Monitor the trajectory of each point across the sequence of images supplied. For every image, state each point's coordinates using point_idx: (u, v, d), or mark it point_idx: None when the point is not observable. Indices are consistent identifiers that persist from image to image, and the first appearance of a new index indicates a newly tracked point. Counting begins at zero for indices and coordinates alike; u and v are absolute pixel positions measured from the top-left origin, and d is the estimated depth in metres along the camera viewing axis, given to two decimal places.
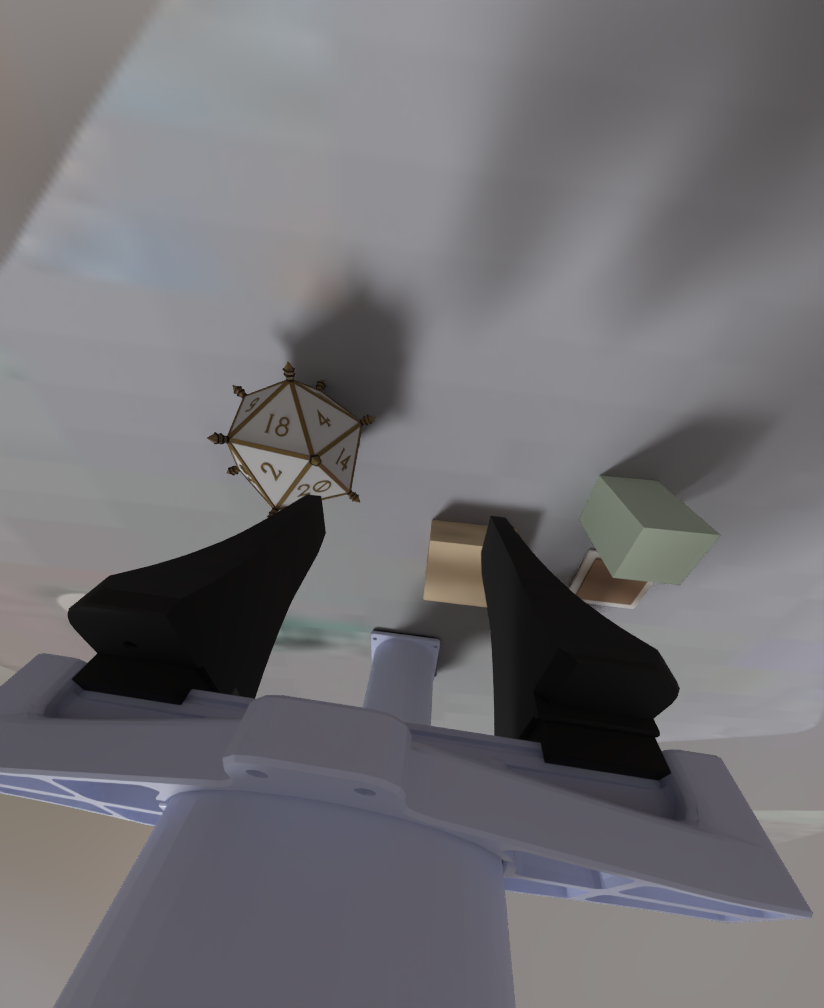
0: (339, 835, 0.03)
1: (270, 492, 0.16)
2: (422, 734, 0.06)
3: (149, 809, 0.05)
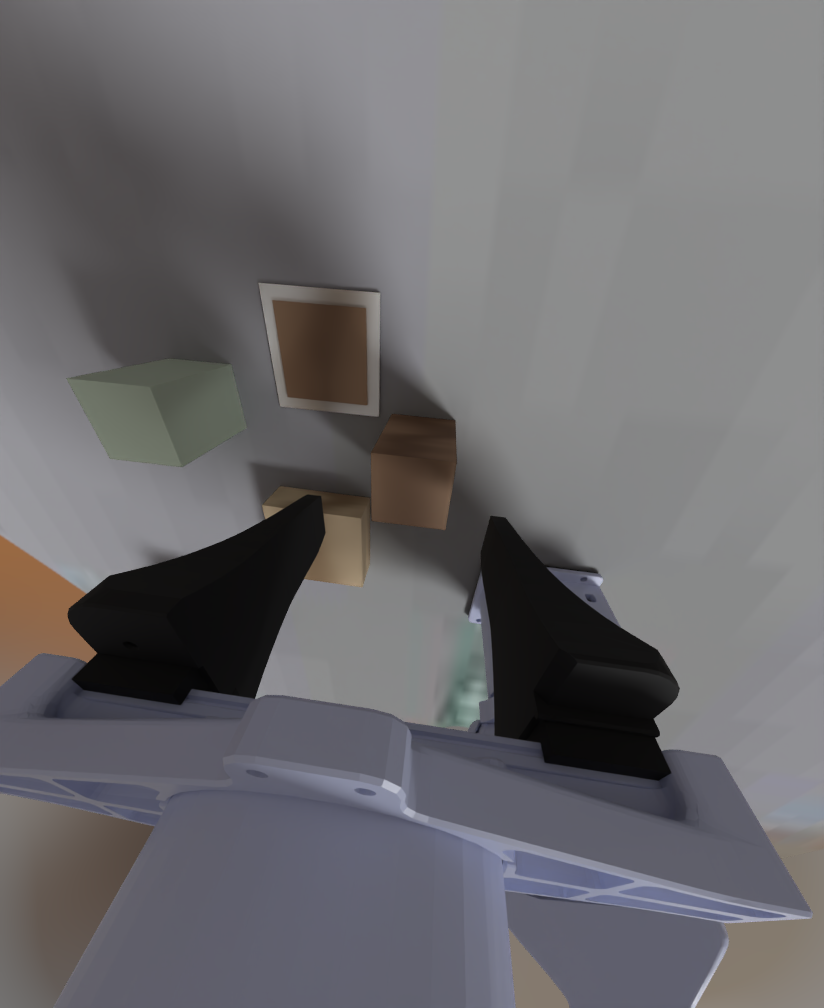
0: (339, 835, 0.03)
1: None
2: (422, 734, 0.06)
3: (149, 809, 0.05)
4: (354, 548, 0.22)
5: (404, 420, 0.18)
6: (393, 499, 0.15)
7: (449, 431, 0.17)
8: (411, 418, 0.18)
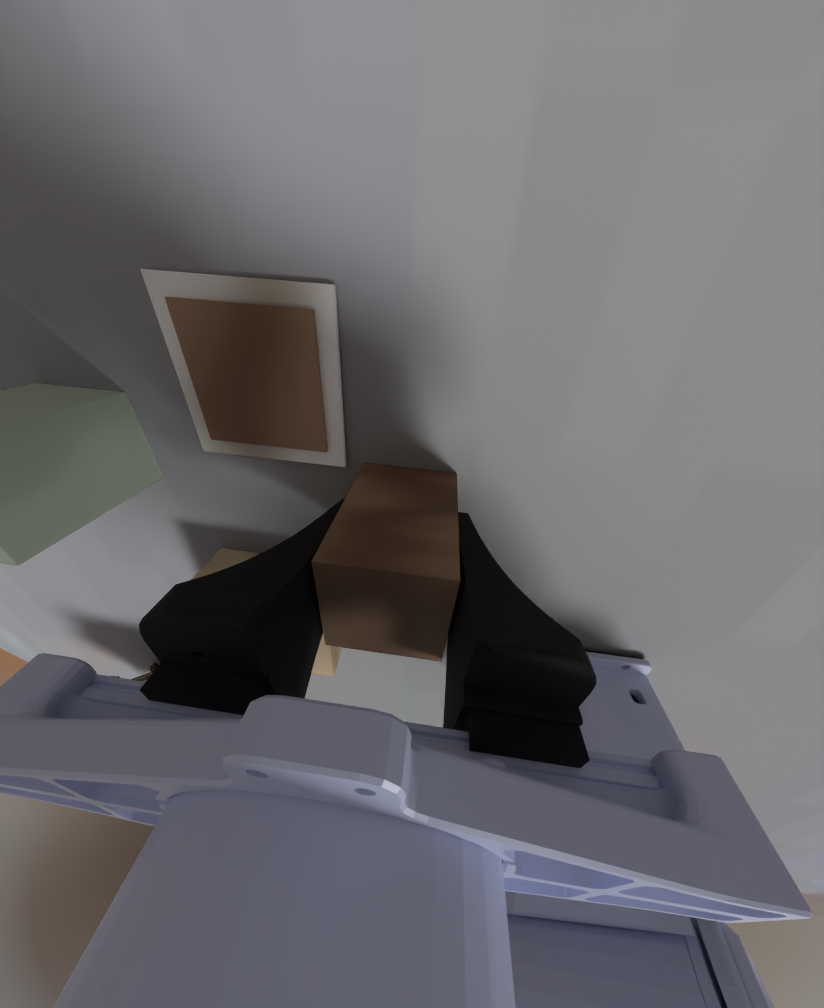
0: (339, 835, 0.03)
1: None
2: (422, 734, 0.06)
3: (149, 809, 0.05)
4: None
5: (380, 476, 0.12)
6: (356, 622, 0.09)
7: (447, 498, 0.11)
8: (391, 472, 0.12)
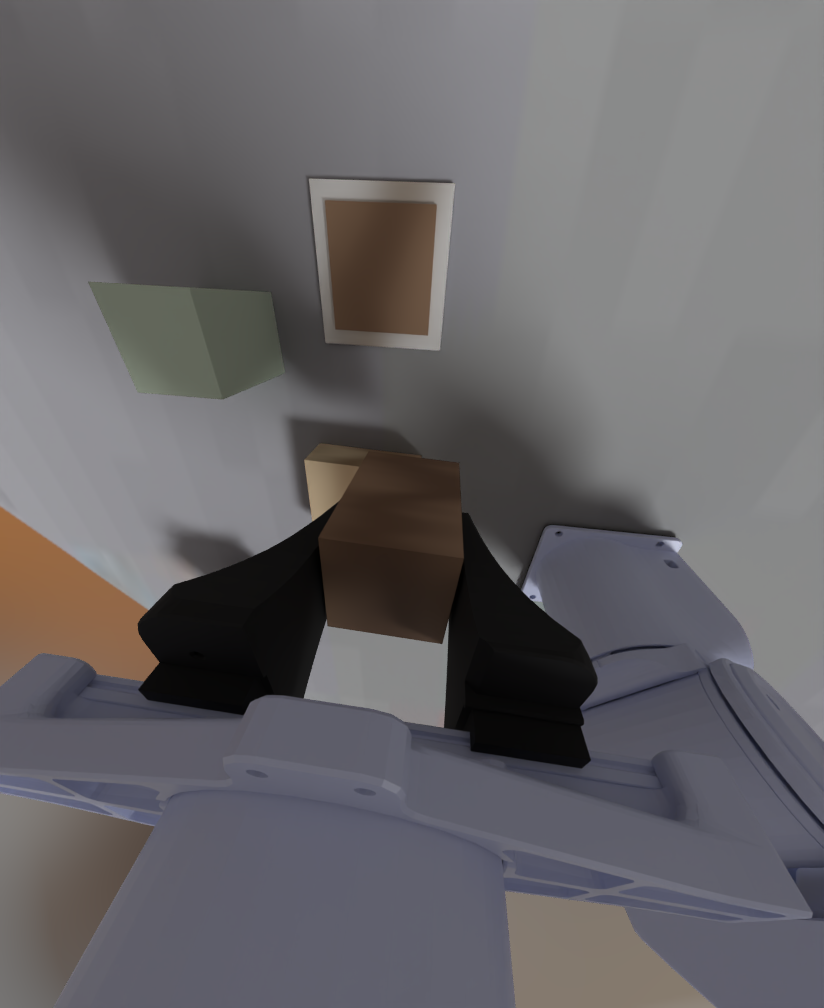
0: (339, 835, 0.03)
1: None
2: (422, 734, 0.06)
3: (149, 809, 0.05)
4: None
5: (384, 463, 0.12)
6: (360, 602, 0.10)
7: (450, 485, 0.11)
8: (395, 460, 0.13)
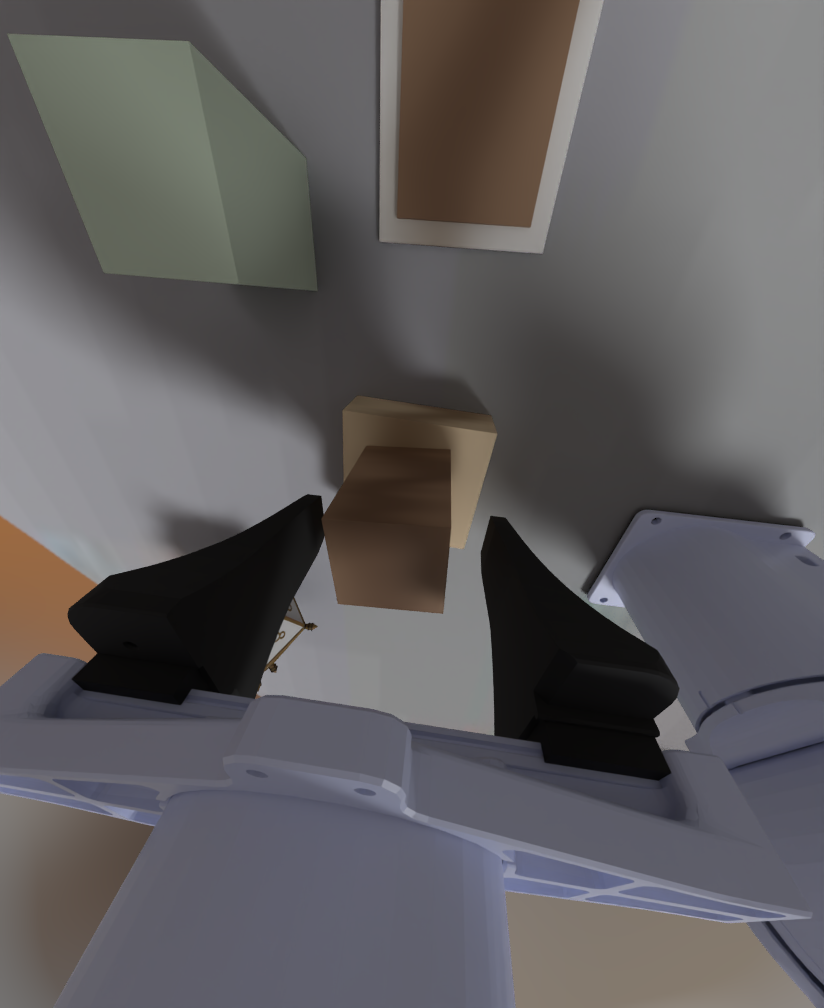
0: (339, 835, 0.03)
1: None
2: (422, 734, 0.06)
3: (149, 809, 0.05)
4: (470, 486, 0.15)
5: (381, 455, 0.13)
6: (364, 578, 0.11)
7: (442, 468, 0.12)
8: (391, 451, 0.14)
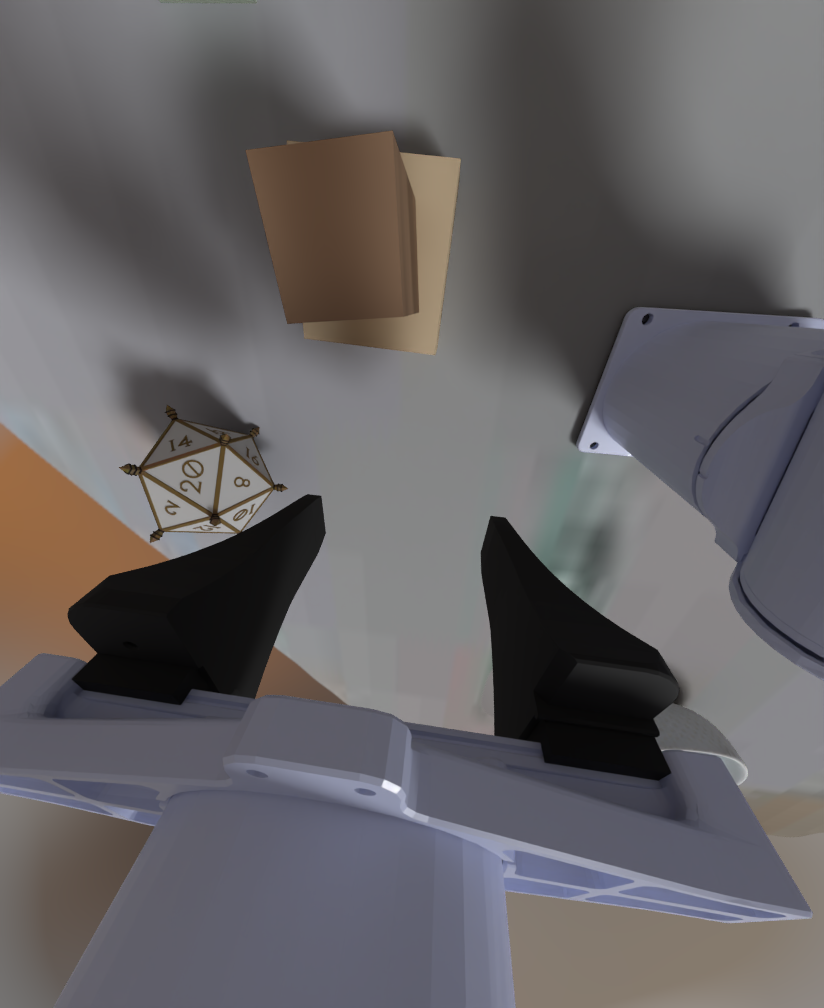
0: (339, 835, 0.03)
1: (195, 515, 0.18)
2: (422, 734, 0.06)
3: (149, 809, 0.05)
4: (436, 251, 0.13)
5: None
6: (308, 263, 0.09)
7: None
8: None
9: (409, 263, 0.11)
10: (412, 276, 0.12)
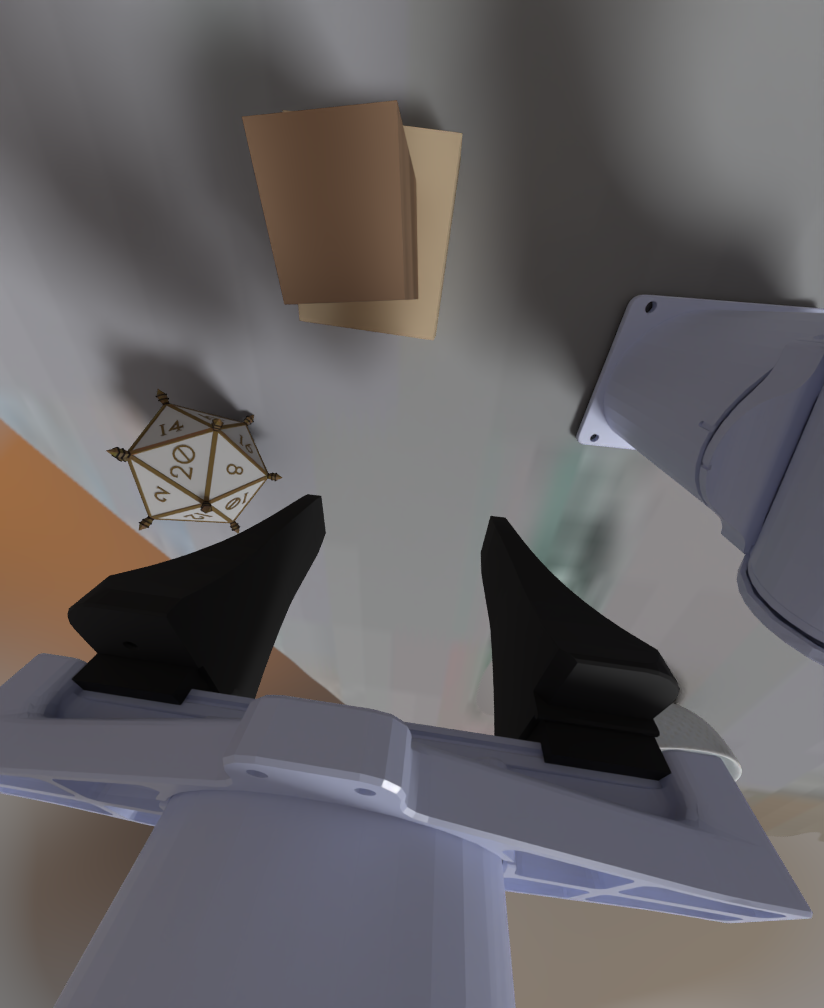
0: (339, 835, 0.03)
1: (186, 502, 0.17)
2: (422, 734, 0.06)
3: (149, 809, 0.05)
4: (436, 231, 0.13)
5: None
6: (307, 241, 0.09)
7: None
8: None
9: (410, 245, 0.11)
10: (413, 260, 0.12)
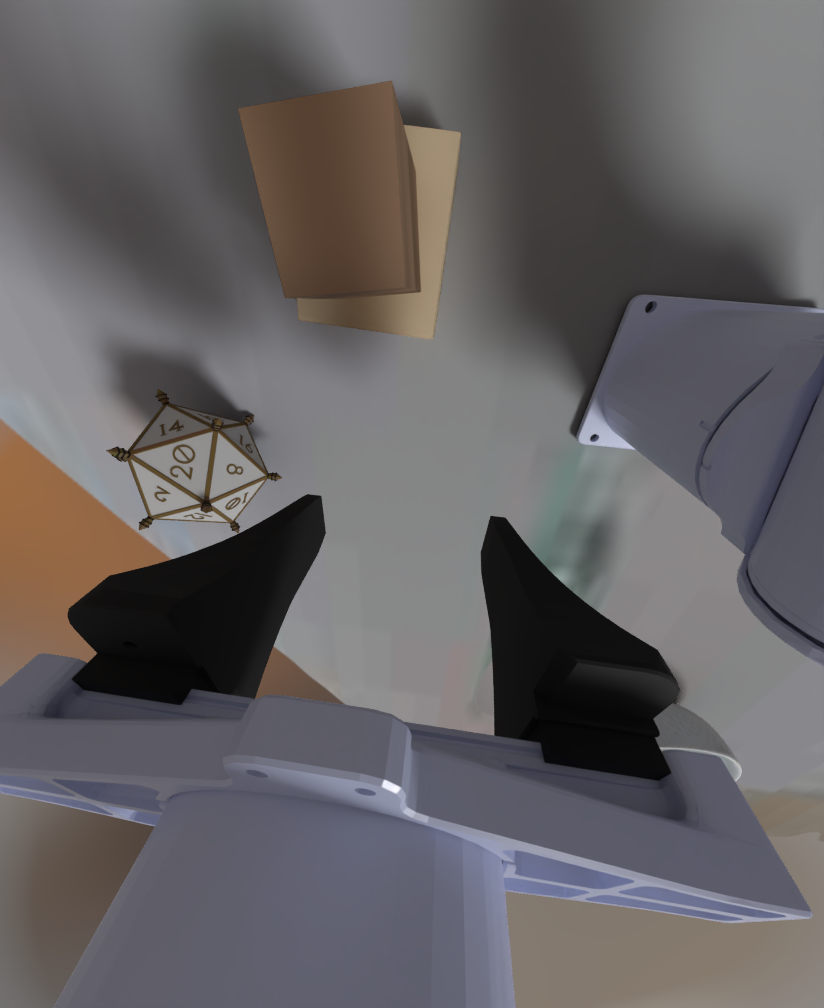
0: (339, 835, 0.03)
1: (186, 502, 0.17)
2: (422, 734, 0.06)
3: (149, 809, 0.05)
4: (434, 230, 0.13)
5: None
6: (306, 231, 0.09)
7: None
8: None
9: (410, 234, 0.11)
10: (413, 250, 0.11)
